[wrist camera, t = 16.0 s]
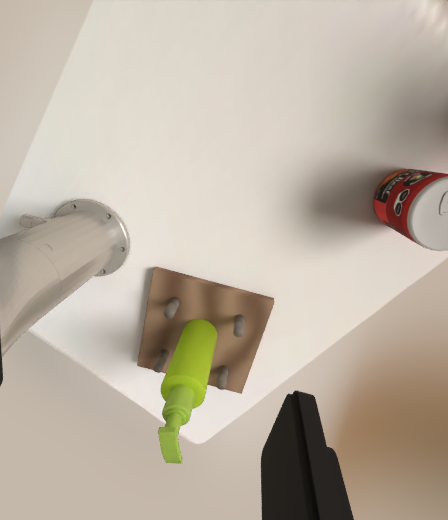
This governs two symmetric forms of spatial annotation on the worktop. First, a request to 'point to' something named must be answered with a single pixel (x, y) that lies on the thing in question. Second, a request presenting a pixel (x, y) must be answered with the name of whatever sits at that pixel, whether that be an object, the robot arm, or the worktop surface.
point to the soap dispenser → (185, 383)
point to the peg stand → (212, 310)
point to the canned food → (416, 206)
